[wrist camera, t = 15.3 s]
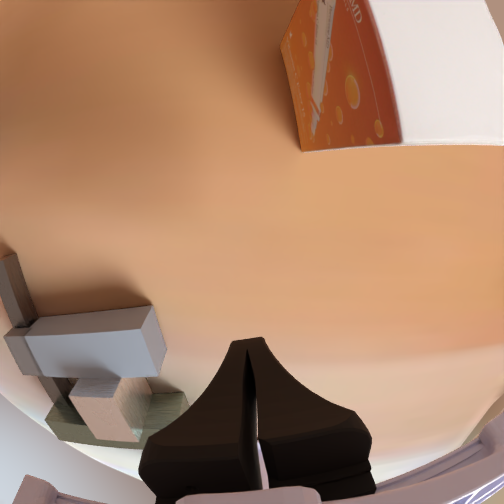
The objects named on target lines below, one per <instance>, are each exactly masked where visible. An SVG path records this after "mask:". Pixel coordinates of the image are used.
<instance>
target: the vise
mask: <svg viewBox="0 0 504 504" xmlns="http://www.w3.org/2000/svg"><path fill="white" fill-rule="evenodd" d="M0 296H1V298H2V301H3V304H4V306H5V309H6V311H7V314H8V316H9V319H10V321H11V323H12V326H13V328H30V327H31V326H32V325H33V324H34V323H35V322H36V321H37V320H38V319H39V318H38V315H37V313H36V310H35V308H34V305H33V303H32V300H31V297H30V294H29V292H28V289H27V286H26V283H25V280H24V277H23V274H22V271H21V267H20V264H19V261H18V257H17V254H16V253H15V254H11V255H7V256H4V257H2V258H0ZM38 378H39V380H40V382H41V383H42V385H43V387H44V388H45V390H46V392H47V393H48V395H49V397H50V398H51V400H52V402H53V403H54V405H53V407H52V408H51V410H50V412H49V413H48V415H47V417H46V419H45V421H46V423H47V424H48V425H49V427H50V428H51V429H52V431H53V432H54V433H55V435H56V436H57V437H58V439H59V440H62V441H68V442H74V443H81V444H88V445H96V446H105V447H115V448H128V449H144V446H145V444H146V442H147V439H148V437H149V436H151V435H153V434H155V433H156V432H158V431H159V430H161V429H163V428H164V427H166V426H167V425H169V424H170V423H172V422H173V421H174V420H176V419H177V418H178V417H179V416H181V415H182V414H183V413H184V412H185V411H187V410H188V409H189V408H190V407H189V404H188V402H187V399H186V397H185V394H184V392H180V393H161V394H153V395H152V398H151V402H150V405H149V408H148V412H147V415H146V419H145V422H144V426H143V429H142V433H141V437H140V440H139V442H125V441H112V440H101V439H96V437H95V436H94V434H93V433H92V432H91V430H90V429H89V427H88V426H87V424H86V423H85V421H84V420H83V418H82V417H81V415H80V414H79V412H78V411H77V409H76V408H75V406H74V404H73V403H72V401H71V399H70V398H69V394H70V393H71V391H72V389H73V388H72V386H71V385H70V383H69V381H68V379H67V377H46V376H38Z"/></svg>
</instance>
